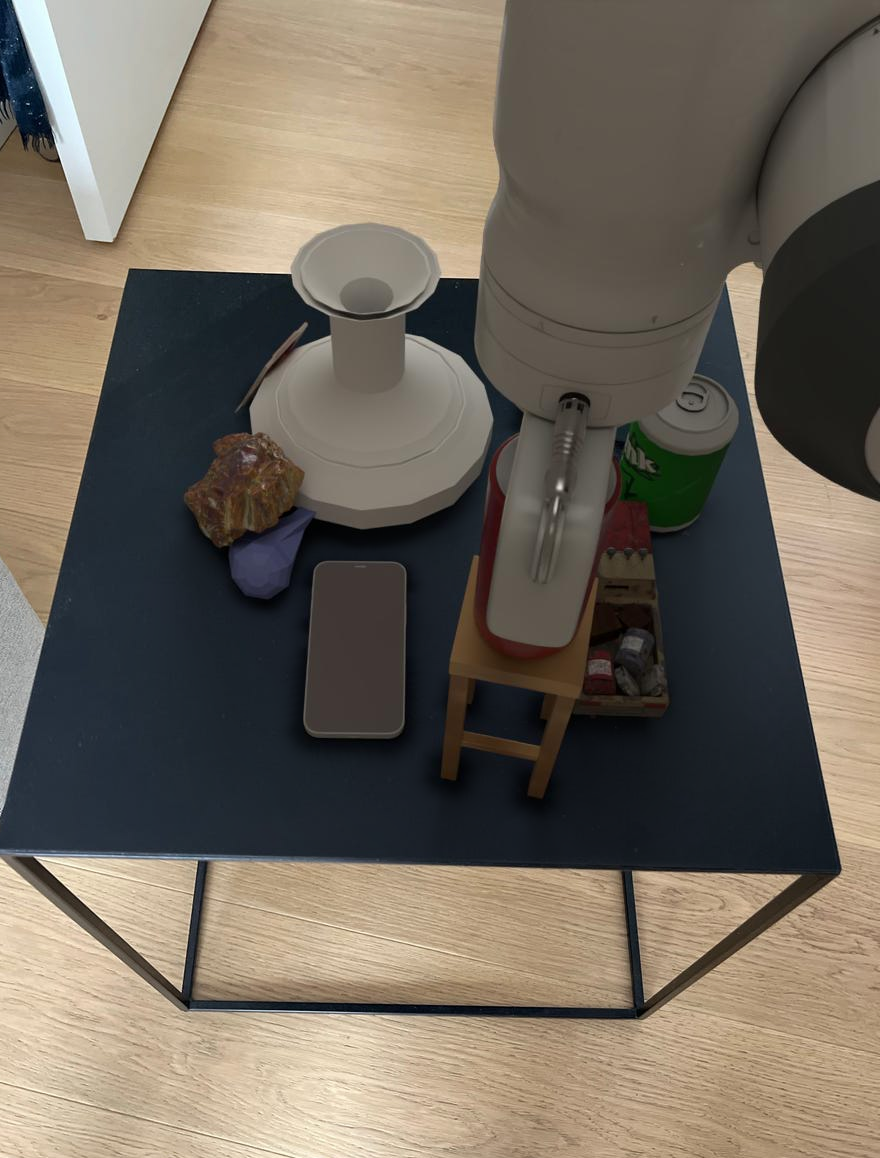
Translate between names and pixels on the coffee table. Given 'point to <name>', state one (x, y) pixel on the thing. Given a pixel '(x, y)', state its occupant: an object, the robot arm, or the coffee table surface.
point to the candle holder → (373, 387)
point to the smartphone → (356, 651)
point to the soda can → (679, 454)
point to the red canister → (489, 540)
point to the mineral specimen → (244, 488)
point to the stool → (545, 675)
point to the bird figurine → (268, 555)
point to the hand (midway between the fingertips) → (545, 530)
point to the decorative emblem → (273, 363)
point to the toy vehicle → (625, 626)
